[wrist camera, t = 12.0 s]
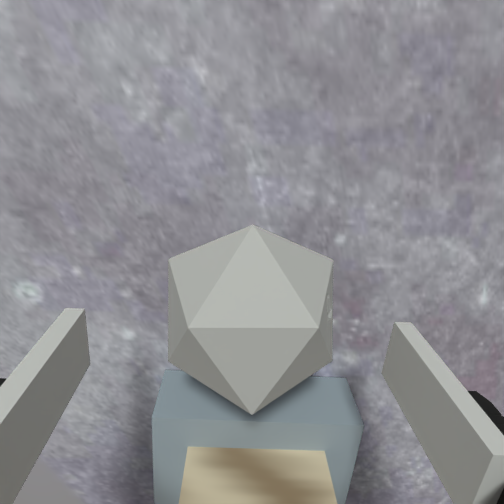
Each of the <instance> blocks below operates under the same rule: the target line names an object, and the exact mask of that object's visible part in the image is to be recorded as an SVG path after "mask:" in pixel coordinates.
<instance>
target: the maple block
mask: <svg viewBox="0 0 504 504" xmlns="http://www.w3.org/2000/svg"><path fill="white" fill-rule="evenodd" d="M179 504H337V500H336V496H335V492H334V488H333V483H332V479H331V475H330V471H329V467H328V463H327V459H326V454H325V451H314V450H282V449H251V448H219V447H188V448H187V454H186V461H185V467H184V473H183V479H182V486H181V492H180V498H179Z"/></svg>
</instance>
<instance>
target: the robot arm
mask: <svg viewBox="0 0 504 504" xmlns="http://www.w3.org/2000/svg"><path fill="white" fill-rule="evenodd" d="M89 365H90V356H89V346H88V336H87V326H86V316H85V309H76V308H65V309H64V311H63V312H62V313H61V314H60V315H59V317H58V318H57V319H56V320H55V321H54V323H53V324H52V325H51V326H50V327H49V329H48V330H47V331H46V332H45V333H44V335H43V336H42V337H41V338H40V339H39V341H38V342H37V343H36V344H35V346H34V347H33V348H32V349H31V350H30V352H29V353H28V354H27V355H26V356H25V358H24V359H23V360H22V361H21V362H20V364H19V365H18V366H17V367H16V368H15V370H14V371H13V372H12V373H11V374H10V376H9V377H8V378H7V379H4V378H0V504H13V502H14V500H15V498H16V497H17V495H18V493H19V491H20V490H21V488H22V486H23V484H24V482H25V481H26V479H27V477H28V475H29V473H30V471H31V470H32V468H33V466H34V464H35V463H36V461H37V459H38V457H39V455H40V454H41V452H42V450H43V448H44V446H45V445H46V443H47V441H48V439H49V437H50V436H51V434H52V432H53V430H54V428H55V427H56V425H57V423H58V421H59V419H60V418H61V416H62V414H63V412H64V410H65V409H66V407H67V405H68V403H69V401H70V400H71V398H72V396H73V394H74V392H75V391H76V389H77V387H78V385H79V383H80V381H81V380H82V378H83V376H84V374H85V372H86V371H87V369H88V367H89ZM382 375H383V377H384V379H385V380H386V382H387V384H388V386H389V388H390V390H391V391H392V393H393V395H394V397H395V399H396V400H397V402H398V404H399V406H400V408H401V409H402V411H403V413H404V415H405V417H406V418H407V420H408V422H409V424H410V426H411V427H412V429H413V431H414V433H415V435H416V437H417V438H418V440H419V442H420V444H421V446H422V447H423V449H424V451H425V453H426V455H427V456H428V458H429V460H430V462H431V464H432V465H433V467H434V469H435V471H436V473H437V474H438V476H439V478H440V480H441V482H442V484H443V485H444V487H445V489H446V491H447V493H448V494H449V496H450V498H451V500H452V502H453V503H454V504H504V417H503V416H501V413H500V412H499V411H498V410H497V409H496V408H495V406H494V405H493V404H492V403H491V402H490V401H489V400H487V399H486V398H485V397H483V396H482V395H480V394H479V393H478V392H476V391H467V390H466V389H465V388H464V386H463V385H462V384H461V383H460V382H459V380H458V379H457V378H456V377H455V375H454V374H453V373H452V372H451V371H450V369H449V368H448V367H447V366H446V364H445V363H444V362H443V361H442V360H441V358H440V357H439V356H438V355H437V353H436V352H435V351H434V350H433V349H432V347H431V346H430V345H429V344H428V342H427V341H426V340H425V339H424V338H423V336H422V335H421V334H420V333H419V331H418V330H417V329H416V328H415V327H414V325H413V324H412V323H407V322H394V325H393V329H392V333H391V337H390V341H389V345H388V349H387V353H386V357H385V361H384V365H383V369H382Z"/></svg>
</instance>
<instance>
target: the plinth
mask: <svg viewBox="0 0 504 504" xmlns="http://www.w3.org/2000/svg"><path fill="white" fill-rule="evenodd" d="M363 429H364V424H363V421H362V419H361V416H360V413H359V411H358V408H357V406H356V403H355V400H354V398H353V395H352V393H351V390H350V387H349V385H348V382H347V379H346V378H335V377H313V376H309V377H308V378H306V379H305V380H303V381H302V382H300V383H299V384H297V385H296V386H294V387H293V388H291V389H290V390H288V391H287V392H285V393H284V394H282V395H281V396H279V397H278V398H276V399H275V400H273V401H272V402H270V403H269V404H268V405H266V406H265V407H263V408H262V409H260V410H259V411H257V412H256V413H254V414H253V415H251V414H250V413H248V412H246V411H245V410H243V409H242V408H240V407H239V406H237V405H236V404H234V403H232V402H231V401H229V400H228V399H226V398H225V397H223V396H222V395H220V394H218V393H217V392H215V391H214V390H212V389H211V388H209V387H207V386H206V385H204V384H203V383H201V382H200V381H198V380H197V379H195V378H193V377H192V376H190V375H189V374H187V373H186V372H184V371H179V370H165V373H164V377H163V380H162V383H161V387H160V390H159V394H158V397H157V401H156V404H155V408H154V411H153V415H152V449H153V484H154V504H179V498H180V492H181V486H182V479H183V473H184V467H185V461H186V454H187V448H188V447H219V448H251V449H282V450H314V451H325V454H326V459H327V463H328V467H329V471H330V475H331V479H332V483H333V488H334V492H335V496H336V500H337V504H345V502H346V498H347V494H348V490H349V486H350V482H351V478H352V474H353V470H354V465H355V461H356V457H357V453H358V449H359V445H360V441H361V437H362V433H363Z"/></svg>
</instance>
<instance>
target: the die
mask: <svg viewBox="0 0 504 504" xmlns="http://www.w3.org/2000/svg"><path fill="white" fill-rule="evenodd" d="M332 345H333V260H332V259H330V258H328V257H326V256H323V255H321V254H319V253H316V252H314V251H312V250H310V249H307V248H305V247H303V246H301V245H298V244H296V243H294V242H291V241H289V240H287V239H285V238H282V237H280V236H278V235H276V234H273V233H271V232H269V231H266V230H264V229H262V228H260V227H257V226H255V225H251V226H249V227H246V228H244V229H241V230H239V231H236V232H234V233H231V234H229V235H226V236H224V237H221V238H219V239H216V240H214V241H212V242H209V243H207V244H204V245H202V246H199V247H197V248H194V249H192V250H189V251H187V252H184V253H182V254H179V255H177V256H174V257H172V258H170V259H168V361H169V362H170V363H172V364H173V365H175V366H176V367H178V368H179V369H181V370H183V371H184V372H186V373H187V374H189V375H190V376H192V377H193V378H195V379H197V380H198V381H200V382H201V383H203V384H204V385H206V386H207V387H209V388H211V389H212V390H214V391H215V392H217V393H218V394H220V395H222V396H223V397H225V398H226V399H228V400H229V401H231V402H232V403H234V404H236V405H237V406H239V407H240V408H242V409H243V410H245V411H246V412H248V413H250V414H251V415H253V414H254V413H256V412H257V411H259V410H260V409H262V408H263V407H265V406H266V405H268V404H269V403H270V402H272V401H273V400H275V399H276V398H278V397H279V396H281V395H282V394H284V393H285V392H287V391H288V390H290V389H291V388H293V387H294V386H296V385H297V384H299V383H300V382H302V381H303V380H305V379H306V378H308V377H309V376H311V375H312V374H314V373H315V372H317V371H318V370H319V369H321V368H322V367H324V366H325V365H327V364H328V363H330V362H331V361H332Z"/></svg>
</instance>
